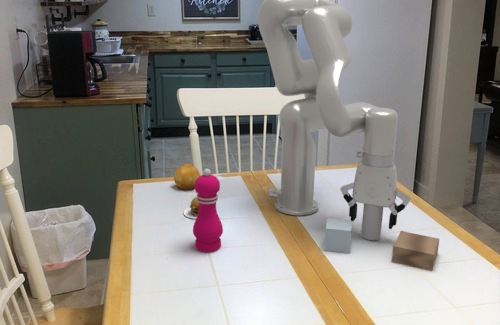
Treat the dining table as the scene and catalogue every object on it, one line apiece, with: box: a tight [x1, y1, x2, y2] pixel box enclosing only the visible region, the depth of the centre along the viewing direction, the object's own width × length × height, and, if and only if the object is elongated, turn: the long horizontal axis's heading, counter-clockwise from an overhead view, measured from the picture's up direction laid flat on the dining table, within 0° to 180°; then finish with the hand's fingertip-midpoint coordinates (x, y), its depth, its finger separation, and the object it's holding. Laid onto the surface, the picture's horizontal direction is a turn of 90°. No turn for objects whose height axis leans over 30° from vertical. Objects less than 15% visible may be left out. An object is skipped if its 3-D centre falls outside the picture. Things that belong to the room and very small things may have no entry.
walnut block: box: [391, 230, 440, 272], centre depth 120 cm, size 9×9×4 cm
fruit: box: [173, 162, 201, 190], centre depth 162 cm, size 8×8×8 cm
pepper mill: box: [192, 168, 224, 253], centre depth 122 cm, size 7×7×20 cm
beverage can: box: [360, 204, 384, 241], centre depth 129 cm, size 5×5×12 cm
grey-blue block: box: [323, 217, 352, 254], centre depth 125 cm, size 6×6×6 cm
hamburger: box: [183, 196, 199, 220], centre depth 143 cm, size 12×12×6 cm
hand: (372, 223), depth 129 cm, fingers open, 9 cm apart
